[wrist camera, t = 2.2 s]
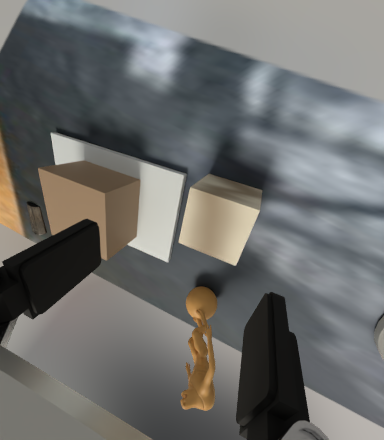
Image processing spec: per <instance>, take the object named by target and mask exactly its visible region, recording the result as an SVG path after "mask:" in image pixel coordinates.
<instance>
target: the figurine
mask: <svg viewBox="0 0 384 440" xmlns="http://www.w3.org/2000/svg"><path fill="white" fill-rule="evenodd" d="M186 307H187V310H188V312H189V314H190V315H191V316H192V317H193V319H194V321H195V322H197V324H198V328H195V329H194V331H193V332H192V337H191V338H190V339H189V341H188V345H189V347H190V349H191V353H192V355H193V359H194V363H195V366H194V369H193V372H192V374H191V373H190V365H189V366H188V364H187V363H186V370H187V373H188V379H189V385H188V386H189V388H188V389H187V390H184V391H183V392H182V394H181V395H182V397H183V399H182V400H181V405H182V407H183V409H189V408H198V409H202V410H205V411H206V410H209V409H211V408H212V406H213V405H214V401H215V389H214V385H213V380H212V379H213V375H214V372H215V360H214V353H213V346H212V340H211V338H212V331H211V325H210V329H209V326H208V325H207V322H206V320H207V319H209V318H210V317H212V316H213V315H214V313H215V311H216V309H217V299H216V296H215V294H214V293H213V292H212V291H211V290H210V289H209V288H207V287H203V286H200V287H196V288H194V289H192V290H191V291H190V293H189V294H188V296H187V299H186ZM202 322H203V325H202ZM207 327H208V330H207ZM205 332H206V333H205ZM203 334H205V336H207V338H208V345H207V346H208V350H207V347H206V343H205V342H204V340H203V338H202V337H203ZM207 354H208V355H209V363H208V361H207V357H206V356H207Z"/></svg>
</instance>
